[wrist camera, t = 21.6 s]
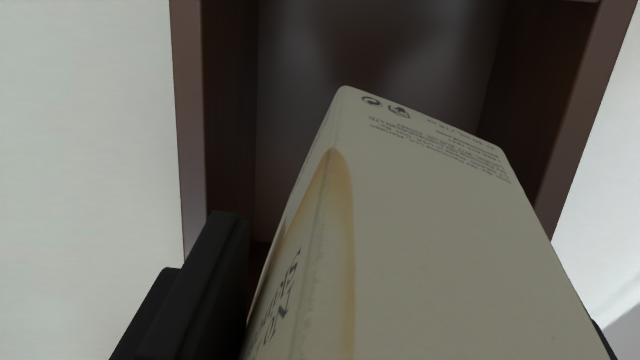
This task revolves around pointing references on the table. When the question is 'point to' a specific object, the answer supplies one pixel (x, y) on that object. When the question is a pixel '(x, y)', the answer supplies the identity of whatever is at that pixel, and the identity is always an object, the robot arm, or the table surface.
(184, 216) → the chest
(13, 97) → the table surface
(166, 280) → the robot arm
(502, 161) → the cosmetic box
